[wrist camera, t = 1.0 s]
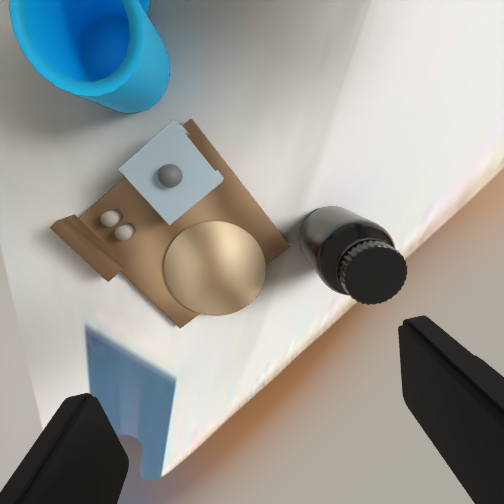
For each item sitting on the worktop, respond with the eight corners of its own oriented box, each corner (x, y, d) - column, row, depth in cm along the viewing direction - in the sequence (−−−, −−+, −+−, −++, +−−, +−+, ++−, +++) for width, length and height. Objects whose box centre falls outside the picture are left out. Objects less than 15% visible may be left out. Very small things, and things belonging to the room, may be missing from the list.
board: (189, 115, 28) (181, 108, 24) (300, 259, 33) (310, 273, 29) (73, 218, 30) (49, 227, 26) (195, 336, 35) (191, 359, 31)
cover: (182, 125, 26) (170, 118, 22) (224, 178, 28) (222, 182, 23) (135, 167, 27) (114, 169, 23) (178, 215, 29) (167, 227, 24)
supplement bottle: (359, 203, 31) (430, 229, 20) (354, 261, 34) (416, 315, 22) (297, 205, 31) (334, 234, 20) (296, 264, 33) (329, 320, 22)
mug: (148, 130, 28) (115, 120, 20) (64, 82, 26) (-7, 51, 18) (204, 0, 25) (190, -70, 17) (113, -63, 23) (53, -173, 16)
